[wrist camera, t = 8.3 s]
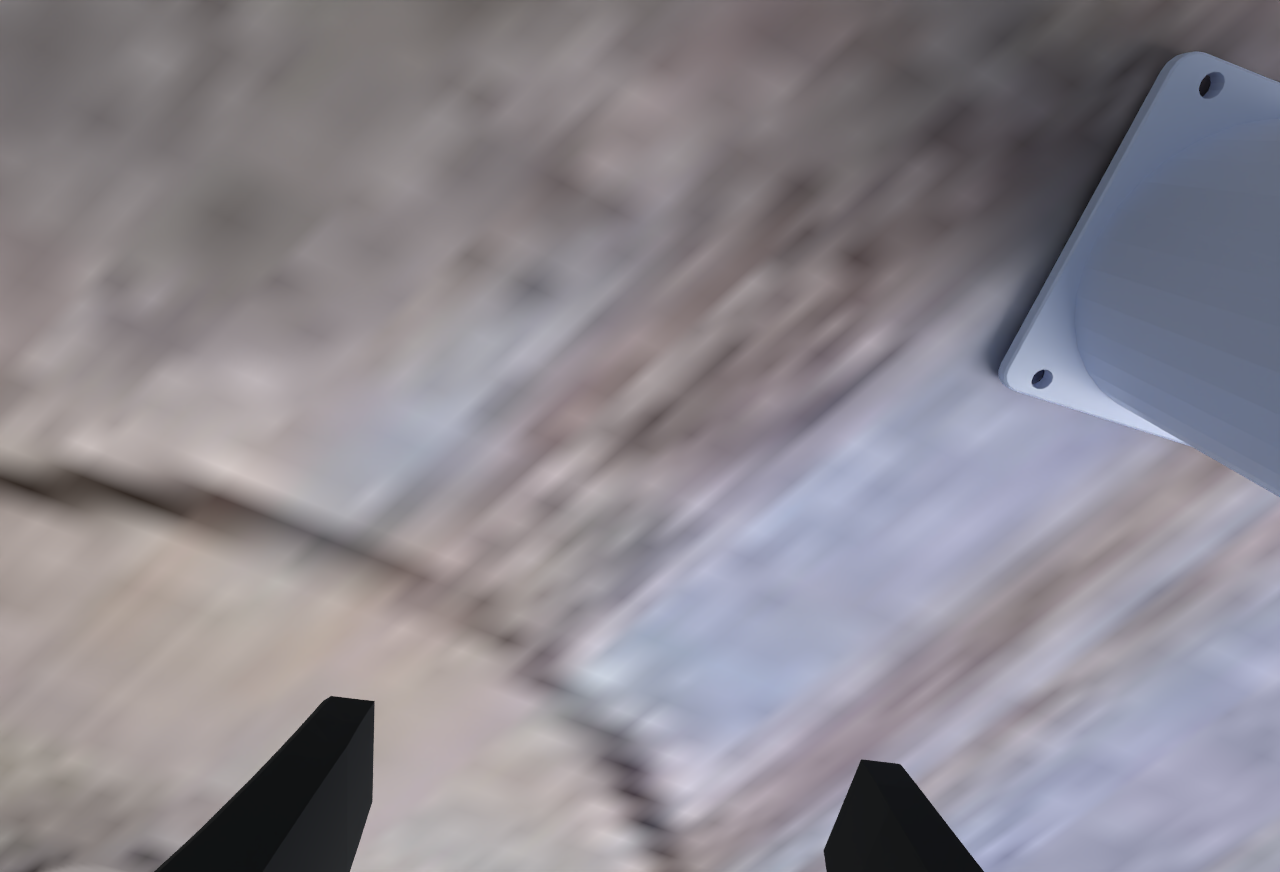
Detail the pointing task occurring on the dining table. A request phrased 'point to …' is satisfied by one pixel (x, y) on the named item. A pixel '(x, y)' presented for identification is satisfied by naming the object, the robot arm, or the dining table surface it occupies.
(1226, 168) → the robot arm
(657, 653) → the dining table surface
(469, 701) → the dining table surface
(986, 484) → the dining table surface
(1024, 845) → the dining table surface
